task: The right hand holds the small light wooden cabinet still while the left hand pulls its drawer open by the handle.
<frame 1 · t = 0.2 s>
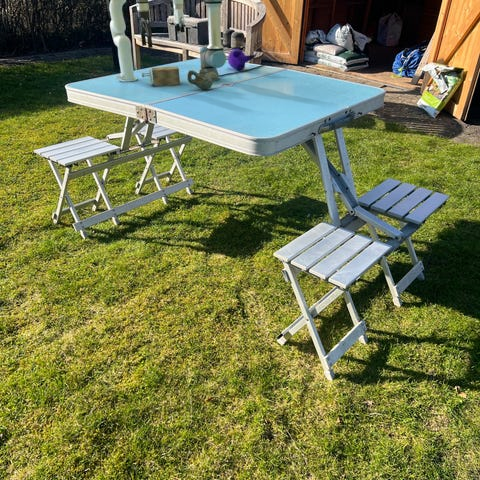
left hand: (180, 31, 344), 31 cm above the table, tool pointing down, fingers open, 9 cm apart
right hand: (147, 46, 298), 28 cm above the table, tool pointing down, fingers open, 13 cm apart
toy: (240, 70, 373), on the table
drawer: (158, 76, 324), point 6 cm above the table, slide at 1.0 cm
teapot: (203, 89, 310), on the table
cabinet: (166, 84, 328), on the table
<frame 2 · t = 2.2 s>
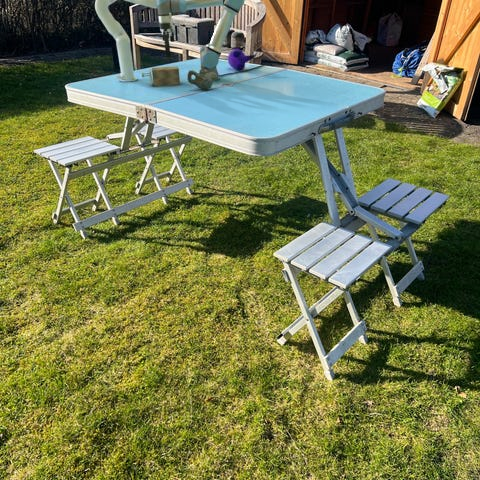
left hand: (168, 41, 335), 26 cm above the table, tool pointing down, fingers open, 9 cm apart
right hand: (168, 56, 316), 20 cm above the table, tool pointing down, fingers open, 13 cm apart
nothing on the table moved.
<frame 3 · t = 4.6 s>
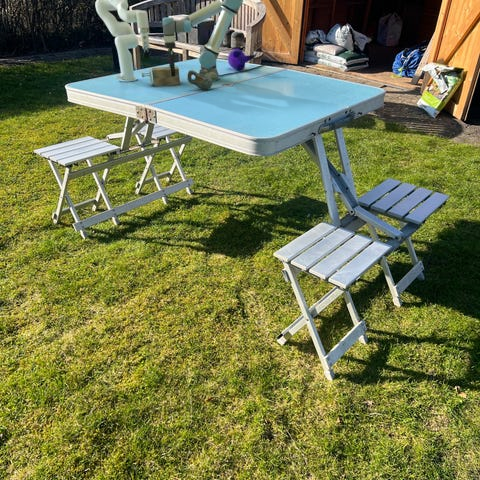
left hand: (146, 57, 318), 19 cm above the table, tool pointing down, fingers open, 9 cm apart
right hand: (172, 75, 325), 6 cm above the table, tool pointing down, fingers closed on cabinet, 11 cm apart
cabinet: (166, 84, 328), on the table, touching right hand
everything else where it was.
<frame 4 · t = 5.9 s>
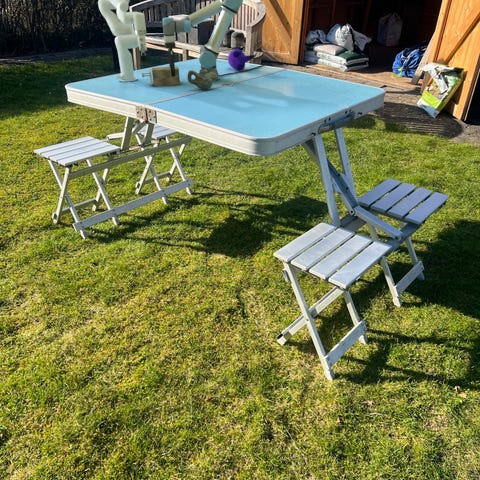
left hand: (144, 60, 317), 17 cm above the table, tool pointing down, fingers open, 3 cm apart
right hand: (172, 75, 325), 6 cm above the table, tool pointing down, fingers closed on cabinet, 11 cm apart
cabinet: (166, 84, 328), on the table, touching right hand
everything else where it was.
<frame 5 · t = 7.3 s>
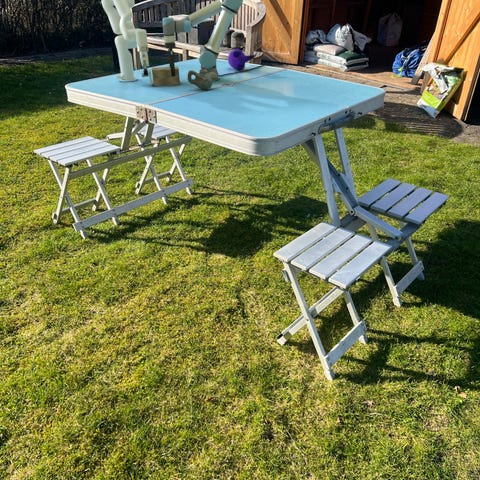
left hand: (146, 76, 322), 6 cm above the table, tool pointing down, fingers closed
right hand: (172, 75, 325), 6 cm above the table, tool pointing down, fingers closed on cabinet, 11 cm apart
drawer: (158, 76, 324), point 6 cm above the table, slide at 1.1 cm, touching left hand
cabinet: (166, 84, 328), on the table, touching right hand
everything else where it was.
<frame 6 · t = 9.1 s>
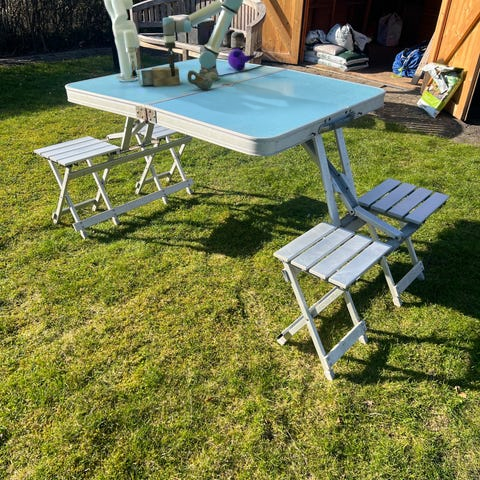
left hand: (134, 77, 320), 6 cm above the table, tool pointing down, fingers closed
right hand: (172, 75, 325), 6 cm above the table, tool pointing down, fingers closed on cabinet, 11 cm apart
drawer: (146, 77, 323), point 6 cm above the table, slide at 9.1 cm, touching left hand
cabinet: (166, 84, 328), on the table, touching right hand
everything else where it was.
when the right hand's fingers open (6 cm above the table, at t = 10.9 s): cabinet stays where it is, on the table.
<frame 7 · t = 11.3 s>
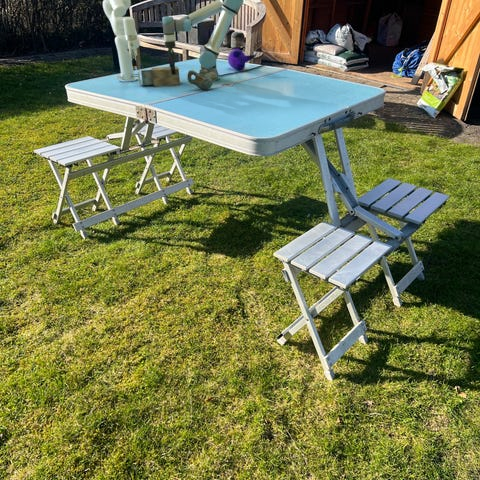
left hand: (134, 66, 317), 14 cm above the table, tool pointing down, fingers closed
right hand: (172, 73, 325), 8 cm above the table, tool pointing down, fingers open, 13 cm apart
drawer: (146, 77, 323), point 5 cm above the table, slide at 9.1 cm
cabinet: (166, 84, 328), on the table
everything else where it was.
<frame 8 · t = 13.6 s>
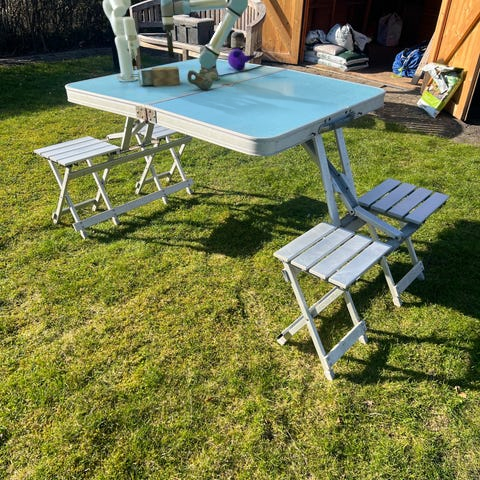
left hand: (134, 66, 317), 14 cm above the table, tool pointing down, fingers closed
right hand: (171, 56, 319), 18 cm above the table, tool pointing down, fingers open, 13 cm apart
nothing on the table moved.
at the end: drawer slide at 9.1 cm; cabinet tilted 0°; cabinet never tilted more than 1° during the clip; cabinet moved 0.1 cm from its start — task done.
